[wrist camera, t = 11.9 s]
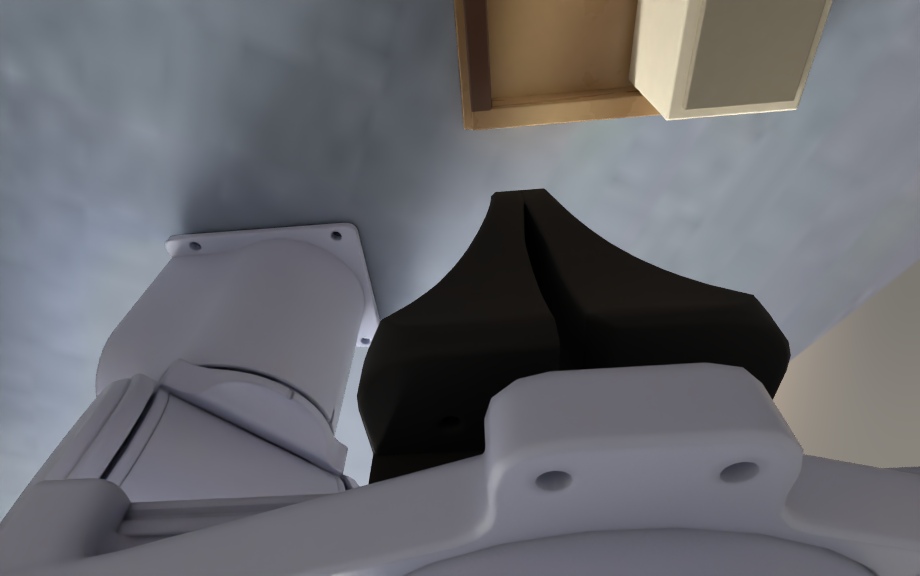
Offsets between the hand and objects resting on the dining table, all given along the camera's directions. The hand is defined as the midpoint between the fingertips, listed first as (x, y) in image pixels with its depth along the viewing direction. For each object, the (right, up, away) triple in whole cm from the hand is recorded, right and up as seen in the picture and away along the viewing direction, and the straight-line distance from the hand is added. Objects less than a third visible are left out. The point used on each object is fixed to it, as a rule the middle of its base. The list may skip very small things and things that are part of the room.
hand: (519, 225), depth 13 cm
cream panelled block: (+7, +9, +6) cm, 12 cm away
